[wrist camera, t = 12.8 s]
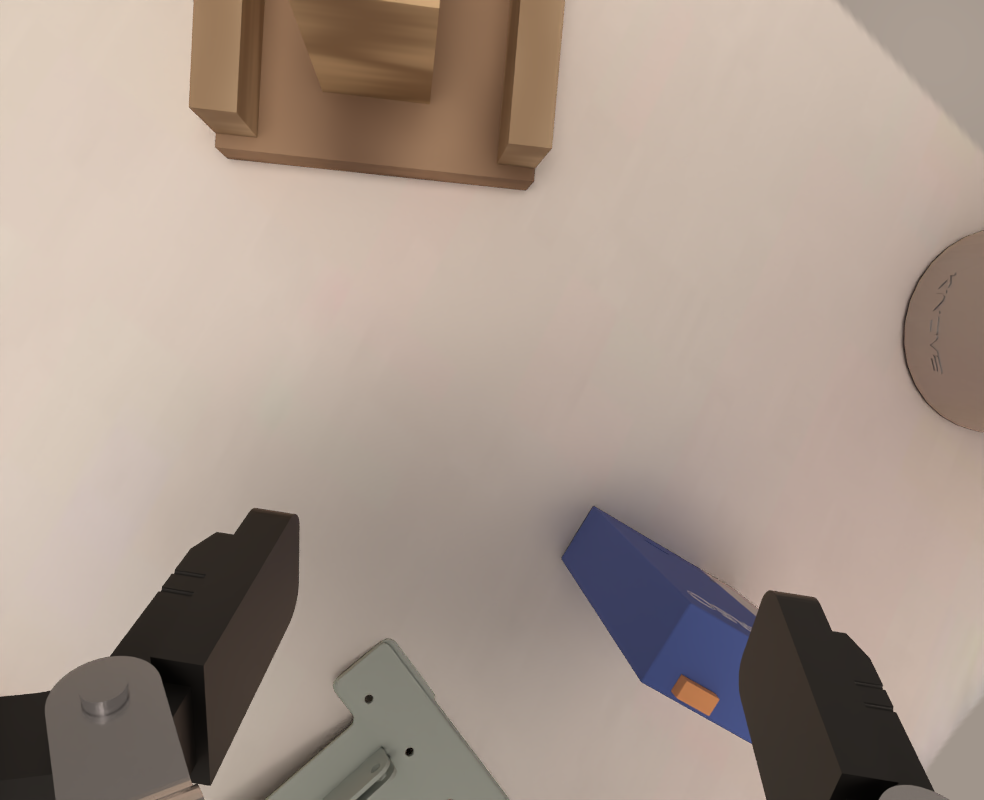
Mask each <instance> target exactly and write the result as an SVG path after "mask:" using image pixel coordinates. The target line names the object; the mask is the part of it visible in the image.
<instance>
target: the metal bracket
mask: <svg viewBox="0 0 984 800" xmlns="http://www.w3.org/2000/svg"><path fill="white" fill-rule="evenodd" d="M333 688H334V691H335V693H336V694H337V695H338V697H339V698H340V699H341V700H342V702H343V703H344V704H345V706H346V707H347V708H348V709H349V711H350V712H351V713H352V715H353V717H354V718H353V722H352V724H351V725H350V726H349V727H348V728H347V729H346V730H345V731H344V732H342V733H341V734H340V735H339V736H338V737H337V738H335V739H334V740H333V741H332V742H331V743H330V744H329V745H327V746H326V747H325V748H324V749H323V750H322V751H320V752H319V753H318V754H317V755H316V756H315V757H314V758H312V759H311V760H310V761H309V762H308V763H307V764H305V765H304V766H303V767H302V768H301V769H300V770H299V771H297V772H296V773H295V774H294V775H293V776H292V777H290V778H289V779H288V780H287V781H286V782H285V783H284V784H282V785H281V786H280V787H279V788H278V789H277V790H275V791H274V792H273V793H272V794H271V795H270V796H269V797H267V798H266V799H265V800H448V799H452V800H509V799H508V797H507V796H506V795H505V793H504V792H503V791H502V789H501V788H500V787H499V785H498V784H497V783H496V781H495V780H494V779H493V777H492V776H491V775H490V774H489V772H488V771H487V770H486V768H485V767H484V766H483V764H482V763H481V762H480V760H479V759H478V758H477V756H476V755H475V754H474V752H473V751H472V750H471V748H470V747H469V746H468V744H467V743H466V742H465V740H464V739H463V738H462V736H461V735H460V734H459V732H458V731H457V730H456V728H455V727H454V726H453V724H452V723H451V722H450V720H449V719H448V718H447V716H446V715H445V714H444V712H443V711H442V710H441V708H440V707H439V706H438V704H437V703H436V702H435V699H434V695H435V694H434V693H433V691H432V690H431V689H430V687H429V686H428V685H427V683H426V682H425V681H424V679H423V678H422V677H421V675H420V674H419V673H418V671H417V670H416V669H415V667H414V666H413V665H412V663H411V662H410V661H409V659H408V658H407V657H406V655H405V654H404V653H403V651H402V650H401V649H400V647H399V646H398V645H397V643H396V642H395V641H393V640H391V639H385V640H383V641H381V642H380V643H378V644H377V645H376V646H375V647H374V648H372V649H371V650H370V651H369V652H368V653H366V654H365V655H364V656H363V657H362V658H361V659H359V660H358V661H357V662H356V663H355V664H353V665H352V666H351V667H350V668H349V669H347V670H346V671H345V672H344V673H343V674H341V675H340V676H339V677H338V678H337V679H336V680H335V681H334V684H333ZM367 695H372V696H373V699H372V701H371V702H365V697H366V696H367ZM409 747H410V748H413V752H412V754H410V755H406V754H405V752H406V750H407V748H409Z"/></svg>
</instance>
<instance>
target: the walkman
mask: <svg viewBox="0 0 984 800" xmlns="http://www.w3.org/2000/svg"><path fill="white" fill-rule="evenodd" d="M562 560H563V562H564V563H565V565H566V567H567V568H568V570H569V571H570V573H571V574H572V576H573V577H574V579H575V580H576V582H577V584H578V585H579V587H580V588H581V590H582V591H583V593H584V594H585V596H586V597H587V599H588V601H589V602H590V604H591V605H592V607H593V608H594V610H595V611H596V613H597V614H598V616H599V618H600V619H601V621H602V622H603V624H604V625H605V627H606V628H607V630H608V631H609V633H610V635H611V636H612V638H613V639H614V641H615V642H616V644H617V645H618V647H619V648H620V650H621V652H622V653H623V655H624V656H625V658H626V659H627V661H628V662H629V664H630V665H631V667H632V669H633V670H634V672H635V673H636V675H637V676H638V678H639V679H640V681H641V682H642V683H644V684H646V685H647V686H649V687H651V688H653V689H655V690H656V691H658V692H660V693H662V694H664V695H665V696H667V697H669V698H671V699H672V700H674V701H676V702H678V703H680V704H681V705H683V706H685V707H687V708H689V709H690V710H692V711H694V712H696V713H698V714H699V715H701V716H703V717H705V718H706V719H708V720H710V721H712V722H714V723H715V724H717V725H719V726H721V727H723V728H724V729H726V730H728V731H730V732H731V733H733V734H735V735H737V736H739V737H740V738H742V739H744V740H746V741H748V742H749V743H751V744H752V741H751V738H750V734H749V730H748V726H747V722H746V718H745V714H744V710H743V707H742V703H741V699H740V694H739V668H740V662H741V658H742V655H743V652H744V649H745V647H746V644H747V641H748V638H749V635H750V632H751V629H752V627H753V624H754V621H755V618H756V615H757V612H758V608H757V607H755V606H754V605H753V604H752V603H750V602H749V601H748V600H747V599H746V598H744V597H743V596H742V595H741V594H740V593H738V592H737V591H736V590H735V589H733V588H731V587H729V586H728V585H726V584H724V583H723V582H721V581H719V580H718V579H716V578H714V577H713V576H711V575H709V574H708V573H706V572H704V571H703V570H701V569H699V568H697V567H696V566H694V565H692V564H691V563H689V562H687V561H686V560H684V559H682V558H681V557H679V556H677V555H675V554H674V553H672V552H670V551H669V550H667V549H665V548H664V547H662V546H660V545H659V544H657V543H655V542H654V541H652V540H650V539H649V538H647V537H645V536H643V535H642V534H640V533H638V532H637V531H635V530H633V529H632V528H630V527H628V526H627V525H625V524H623V523H622V522H620V521H618V520H616V519H615V518H613V517H611V516H610V515H608V514H606V513H605V512H603V511H601V510H600V509H598V508H596V507H595V506H594V507H593V508H592V509H591V511H590V513H589V514H588V516H587V517H586V519H585V521H584V522H583V524H582V526H581V527H580V529H579V530H578V532H577V534H576V535H575V537H574V539H573V540H572V542H571V543H570V545H569V547H568V548H567V550H566V552H565V553H564V555H563V556H562Z"/></svg>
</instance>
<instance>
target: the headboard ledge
mask: <svg viewBox="0 0 984 800" xmlns="http://www.w3.org/2000/svg"><path fill="white" fill-rule="evenodd" d="M564 6H565V0H440V6H439V17H438V27H437V37H436V47H435V57H434V67H433V77H432V87H431V97H430V104H423V103H414V102H406V101H397V100H389V99H380V98H372V97H363V96H355V95H346V94H338V93H329V92H323V91H322V89H321V86H320V83H319V81H318V78H317V75H316V73H315V70H314V67H313V65H312V62H311V59H310V57H309V54H308V51H307V49H306V46H305V43H304V41H303V38H302V35H301V33H300V30H299V27H298V25H297V22H296V19H295V17H294V14H293V11H292V9H291V6H290V3H289V0H194V7H193V29H192V51H191V73H190V94H189V108H190V109H191V110H192V111H193V112H194V113H195V114H196V115H198V116H199V117H200V118H201V119H202V120H203V121H204V122H205V123H206V124H207V125H208V126H209V127H210V128H211V129H212V130H213V131H214V132H215V133H216V140H215V147H216V148H217V149H218V150H219V151H220V152H221V153H222V154H223V155H224V156H226V157H227V158H228V159H237V160H247V161H256V162H265V163H275V164H284V165H294V166H303V167H312V168H322V169H331V170H340V171H350V172H359V173H369V174H378V175H387V176H397V177H406V178H415V179H425V180H434V181H444V182H453V183H462V184H472V185H481V186H491V187H500V188H509V189H519V190H527V189H528V187H529V186H530V185H531V184H532V183H533V182H534V174H535V168H536V167H537V165H538V164H539V163H540V162H541V161H542V159H543V158H544V157H545V156H546V155H547V153H548V152H549V151H550V150H551V149H552V140H553V129H554V117H555V106H556V95H557V84H558V73H559V61H560V50H561V39H562V28H563V17H564Z"/></svg>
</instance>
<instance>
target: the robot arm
mask: <svg viewBox="0 0 984 800" xmlns="http://www.w3.org/2000/svg"><path fill="white" fill-rule="evenodd" d="M904 345H905V352H906V358H907V364H908V367H909V370H910V372H911V375H912V378H913V380H914V383H915V385H916V387H917V388H918V390H919V391H920V393H921V394H922V396H923V397H924V399H925V400H926V402H927V403H928V404H929V405H930V406H932V407H933V408H934V409H935V410H936V411H937V412H938V413H939V414H940V415H941V416H943V417H944V418H946V419H948V420H950V421H951V422H953V423H955V424H956V425H959V426H962V427H965V428H968V429H972V430H975V431H979V432H984V230H983V231H980V232H977V233H974V234H971V235H969V236H966V237H964V238H963V239H961V240H959V241H958V242H956V243H955V244H953V245H951V246H950V247H948V248H947V249H946V250H945V251H944V252H943V253H942V254H941V255H940V256H938V257H937V258H936V259H935V260H934V261H933V262H932V263H931V265H930V266H929V268H928V269H927V270H926V272H925V273H924V275H923V276H922V277H921V279H920V280H919V282H918V285H917V287H916V289H915V291H914V294H913V296H912V298H911V300H910V304H909V308H908V312H907V317H906V321H905V339H904ZM298 586H299V518H298V516H297V515H296V514H290V513H284V512H278V511H271V510H265V509H259V508H253V509H252V510H251V511H250V512H249V513H248V515H247V516H246V518H245V519H244V521H243V522H242V523H241V525H240V526H239V528H238V529H237V531H236V532H235V534H234V535H232V534H226V533H219V532H216V533H215V534H213V535H211V536H210V537H208V538H207V539H205V540H204V541H202V542H200V543H199V544H197V545H196V546H194V547H193V548H191V549H190V550H189V552H188V553H187V554H186V556H185V557H184V558H183V560H182V561H181V562H180V564H179V565H178V566H177V568H176V569H175V573H174V574H171V576H170V577H169V578H168V580H167V581H166V582H165V584H164V585H163V586H162V590H161V592H158V593H157V594H156V596H155V597H154V598H153V600H152V601H151V602H150V604H149V605H148V606H147V608H146V609H145V610H144V612H143V613H142V614H141V616H140V617H139V618H138V620H137V621H136V622H135V624H134V625H133V626H132V628H131V629H130V630H129V632H128V633H127V634H126V636H125V637H124V638H123V640H122V641H121V642H120V644H119V645H118V646H117V648H116V649H115V650H114V652H113V653H112V654H111V656H110V657H105V658H101V659H97V660H94V661H91V662H88V663H86V664H84V665H81V666H79V667H77V668H76V669H74V670H72V671H71V672H69V673H68V674H67V675H65V676H64V677H63V678H62V679H61V680H60V681H59V682H58V683H57V684H56V685H55V686H54V687H53V689H52V690H51V691H47V692H41V693H34V694H24V695H14V696H4V697H0V800H204V797H203V794H202V792H201V789H200V787H199V785H198V784H203V785H208V786H211V784H212V782H213V780H214V778H215V776H216V774H217V771H218V769H219V767H220V765H221V763H222V761H223V759H224V757H225V755H226V753H227V751H228V749H229V747H230V745H231V743H232V741H233V739H234V736H235V734H236V732H237V730H238V728H239V726H240V724H241V722H242V720H243V718H244V716H245V714H246V712H247V710H248V708H249V706H250V704H251V701H252V699H253V697H254V695H255V693H256V691H257V689H258V687H259V685H260V683H261V681H262V679H263V677H264V675H265V673H266V671H267V669H268V666H269V664H270V662H271V660H272V658H273V656H274V654H275V652H276V650H277V648H278V646H279V644H280V642H281V640H282V638H283V636H284V633H285V631H286V629H287V627H288V625H289V623H290V621H291V618H292V616H293V612H294V609H295V605H296V601H297V595H298ZM882 686H883V684H882V682H881V680H880V678H879V676H878V674H877V672H876V670H875V668H874V666H873V664H872V662H871V660H870V658H869V657H868V656H867V655H866V654H865V653H864V652H863V651H862V650H861V649H860V648H859V646H858V645H857V644H856V643H855V642H854V641H853V640H852V639H851V638H850V637H849V636H848V635H847V634H846V633H840V632H834V631H832V630H831V628H830V625H829V623H828V621H827V619H826V616H825V614H824V612H823V610H822V607H821V605H820V603H819V601H818V600H817V599H816V598H814V597H809V596H803V595H796V594H790V593H784V592H777V591H771V590H770V591H767V592H766V593H765V595H764V596H763V598H762V601H761V604H760V607H759V609H758V612H757V615H756V618H755V621H754V624H753V627H752V629H751V632H750V635H749V638H748V641H747V644H746V647H745V649H744V652H743V655H742V658H741V662H740V668H739V694H740V699H741V703H742V707H743V710H744V714H745V718H746V722H747V726H748V730H749V734H750V738H751V741H752V745H753V749H754V753H755V757H756V761H757V765H758V769H759V772H760V776H761V780H762V784H763V788H764V792H765V796H766V800H949V799H947V798H945V797H943V796H942V795H940V794H938V793H935V792H934V790H933V788H932V785H931V783H930V781H929V779H928V777H927V775H926V773H925V771H924V769H923V767H922V765H921V763H920V761H919V759H918V757H917V755H916V752H915V750H914V748H913V746H912V744H911V742H910V740H909V738H908V736H907V734H906V732H905V730H904V728H903V726H902V724H901V721H900V719H899V717H898V715H897V713H896V712H893V705H892V703H891V701H890V699H889V697H888V695H887V693H886V691H885V690H883V689H882ZM192 783H197V784H195V785H193V784H192Z"/></svg>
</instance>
